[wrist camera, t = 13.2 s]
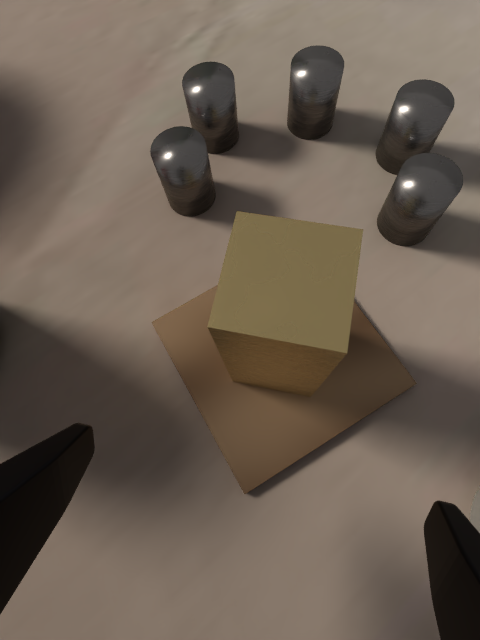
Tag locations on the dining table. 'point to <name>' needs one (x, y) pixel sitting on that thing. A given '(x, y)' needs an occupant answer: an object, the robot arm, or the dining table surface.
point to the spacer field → (311, 123)
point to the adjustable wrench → (476, 511)
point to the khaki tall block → (285, 301)
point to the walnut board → (277, 394)
